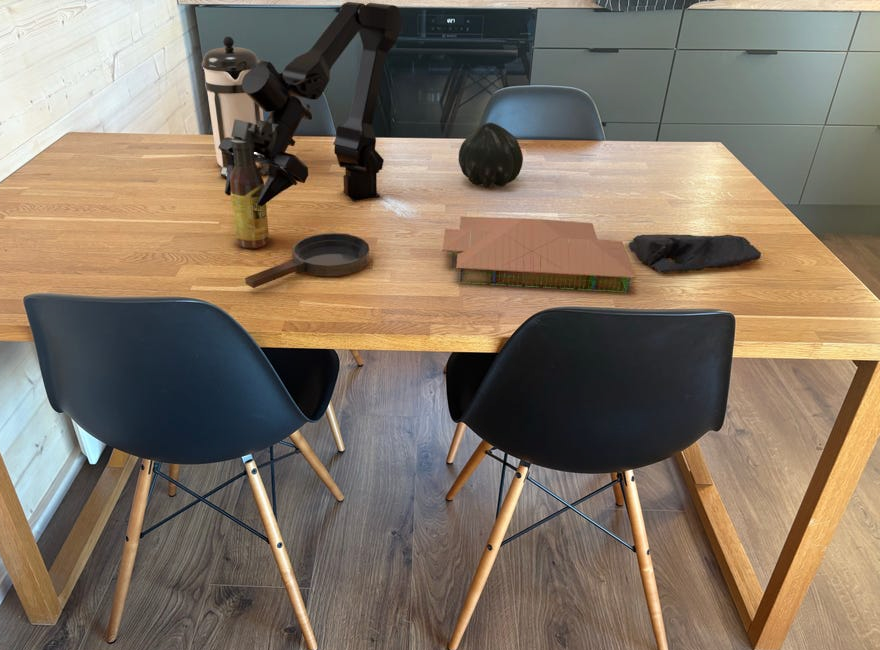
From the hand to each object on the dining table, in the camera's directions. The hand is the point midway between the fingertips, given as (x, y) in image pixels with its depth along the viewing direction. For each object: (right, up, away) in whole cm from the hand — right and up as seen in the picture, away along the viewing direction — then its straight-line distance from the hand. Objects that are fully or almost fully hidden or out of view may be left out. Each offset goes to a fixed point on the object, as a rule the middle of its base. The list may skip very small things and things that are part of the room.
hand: (242, 199), depth 129 cm
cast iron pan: (+16, -11, 0) cm, 20 cm away
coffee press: (-10, +17, +43) cm, 47 cm away
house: (+54, -11, +1) cm, 55 cm away
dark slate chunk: (+84, -10, +3) cm, 85 cm away
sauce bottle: (+1, -7, +6) cm, 9 cm away
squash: (+50, +12, +36) cm, 63 cm away
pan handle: (+8, -16, -8) cm, 19 cm away
